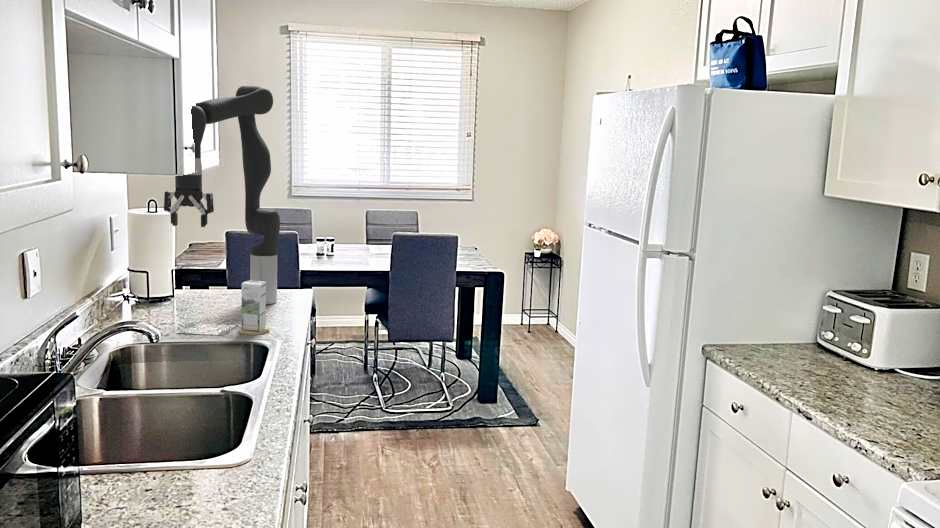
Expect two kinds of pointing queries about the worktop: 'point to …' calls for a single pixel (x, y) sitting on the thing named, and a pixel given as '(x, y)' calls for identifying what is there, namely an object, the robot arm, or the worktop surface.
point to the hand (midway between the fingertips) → (189, 226)
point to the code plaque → (218, 334)
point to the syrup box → (253, 305)
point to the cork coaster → (253, 331)
